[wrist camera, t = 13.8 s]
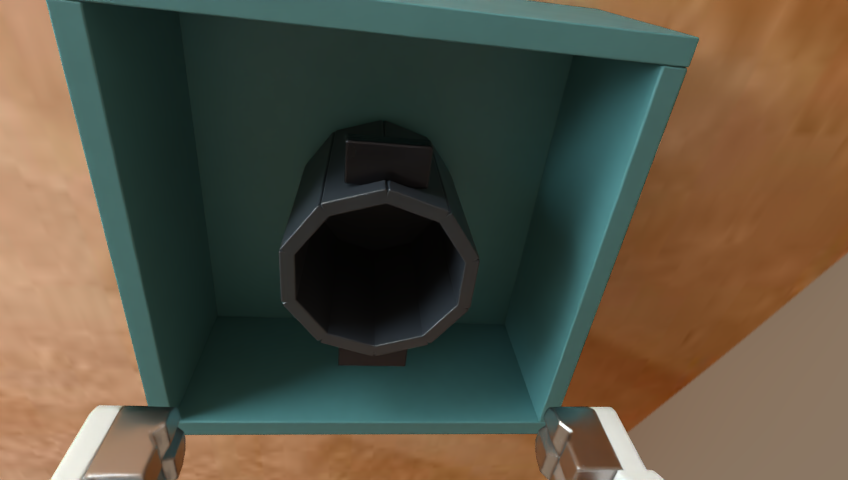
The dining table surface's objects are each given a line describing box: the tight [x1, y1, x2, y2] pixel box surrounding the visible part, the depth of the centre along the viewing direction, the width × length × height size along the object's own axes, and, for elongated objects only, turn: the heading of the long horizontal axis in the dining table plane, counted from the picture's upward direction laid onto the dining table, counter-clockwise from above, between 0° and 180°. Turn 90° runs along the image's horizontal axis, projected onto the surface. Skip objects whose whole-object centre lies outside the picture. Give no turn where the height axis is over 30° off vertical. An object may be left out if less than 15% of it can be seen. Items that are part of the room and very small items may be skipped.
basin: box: [46, 0, 699, 435], centre depth 19 cm, size 17×17×7 cm
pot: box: [279, 120, 480, 366], centre depth 19 cm, size 9×6×7 cm
